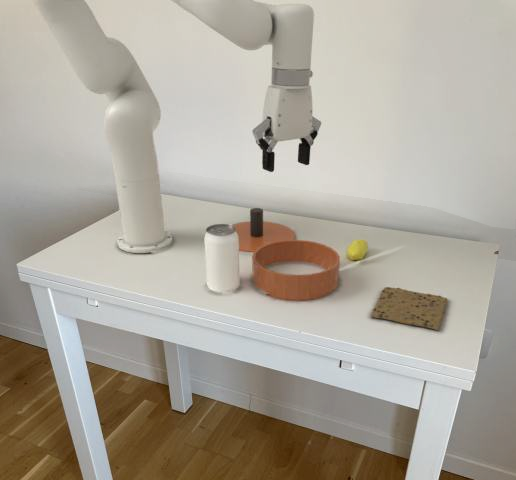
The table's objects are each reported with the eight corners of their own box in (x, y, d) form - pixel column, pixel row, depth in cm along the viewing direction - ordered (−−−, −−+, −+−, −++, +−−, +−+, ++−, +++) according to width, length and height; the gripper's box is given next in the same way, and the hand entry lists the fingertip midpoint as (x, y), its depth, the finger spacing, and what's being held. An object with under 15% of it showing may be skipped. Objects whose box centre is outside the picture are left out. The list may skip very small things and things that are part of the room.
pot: (235, 277, 111) (235, 253, 108) (299, 255, 119) (300, 233, 117) (290, 309, 99) (290, 284, 96) (355, 283, 108) (358, 259, 105)
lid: (204, 236, 129) (202, 207, 125) (263, 220, 138) (263, 192, 134) (248, 261, 117) (248, 230, 113) (310, 241, 126) (312, 212, 122)
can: (227, 297, 103) (225, 238, 97) (200, 289, 106) (196, 231, 100) (246, 284, 108) (245, 227, 101) (219, 276, 111) (217, 220, 104)
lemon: (371, 253, 121) (373, 236, 118) (360, 266, 115) (361, 249, 113) (353, 249, 122) (354, 233, 120) (341, 262, 116) (342, 246, 114)
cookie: (439, 331, 93) (440, 326, 92) (370, 317, 97) (370, 312, 96) (447, 300, 102) (448, 295, 101) (384, 288, 106) (384, 284, 105)
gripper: (311, 73, 112) (305, 157, 122) (243, 78, 104) (242, 168, 113) (335, 77, 107) (327, 165, 117) (267, 83, 99) (264, 177, 108)
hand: (286, 166), depth 115 cm, fingers open, 9 cm apart
